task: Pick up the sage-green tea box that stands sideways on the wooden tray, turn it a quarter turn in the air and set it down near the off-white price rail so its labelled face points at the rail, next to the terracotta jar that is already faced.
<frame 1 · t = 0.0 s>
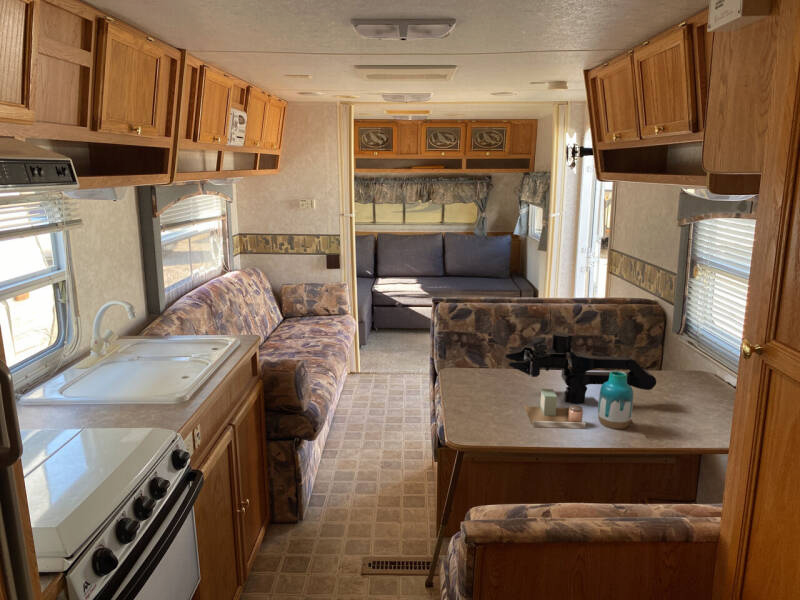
hand: (507, 359, 210), 17 cm above the table, tool horizontal, fingers open, 9 cm apart
vase: (613, 428, 193), on the table
spice jar: (574, 423, 192), point 1 cm above the table, touching wooden tray
tea box: (547, 411, 202), point 1 cm above the table, touching wooden tray
wooden tray: (553, 421, 198), on the table
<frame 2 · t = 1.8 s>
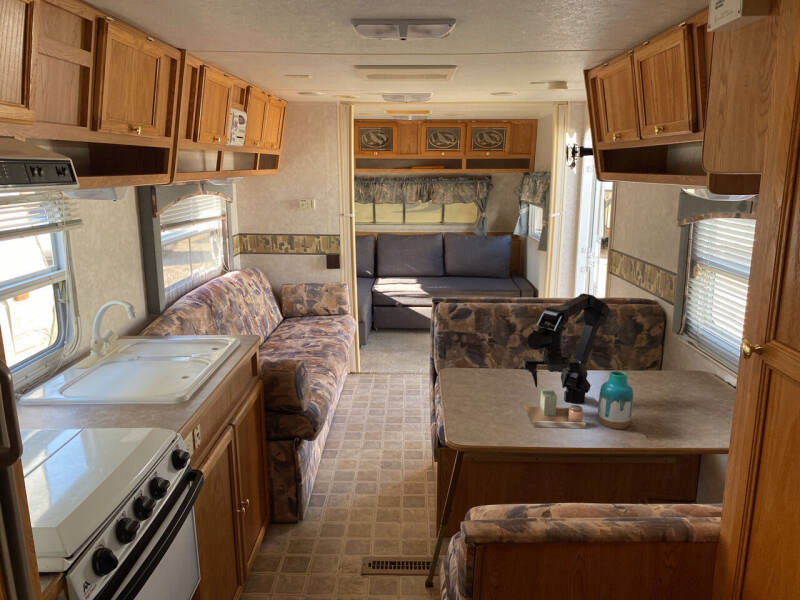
hand: (549, 387, 200), 10 cm above the table, tool pointing down, fingers open, 9 cm apart
nothing on the table moved.
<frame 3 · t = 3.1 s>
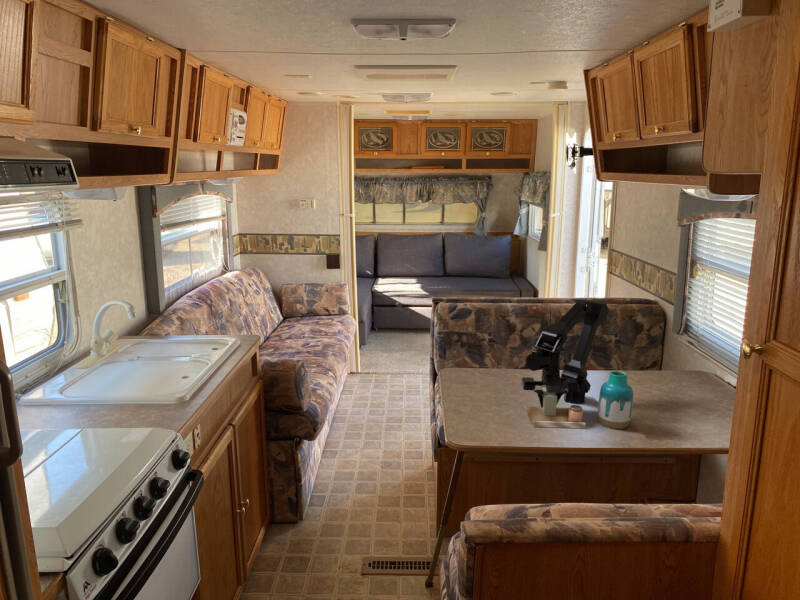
hand: (547, 407, 202), 3 cm above the table, tool pointing down, fingers closed on tea box, 4 cm apart
tea box: (547, 411, 202), point 1 cm above the table, touching gripper, wooden tray
everything else where it was.
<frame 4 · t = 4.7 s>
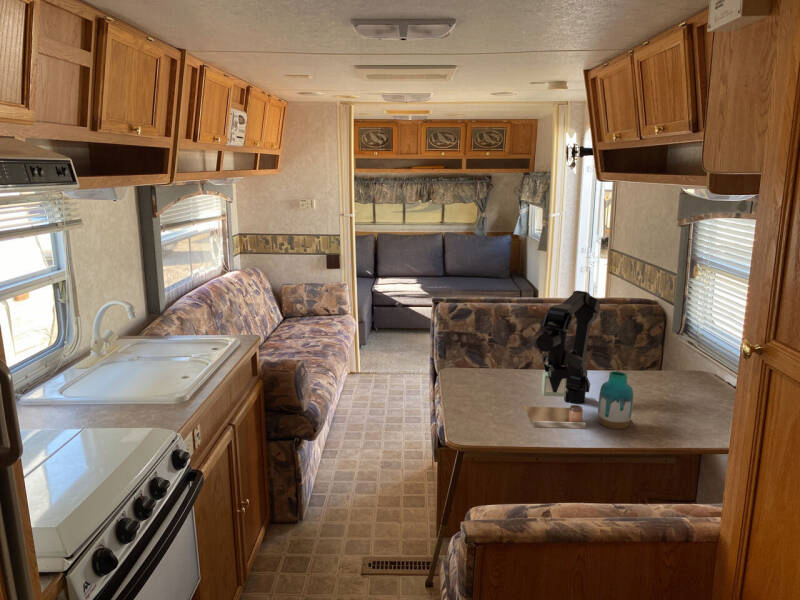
hand: (553, 389, 193), 12 cm above the table, tool pointing down, fingers closed on tea box, 4 cm apart
tea box: (553, 394, 194), point 11 cm above the table, touching gripper
everything else where it was.
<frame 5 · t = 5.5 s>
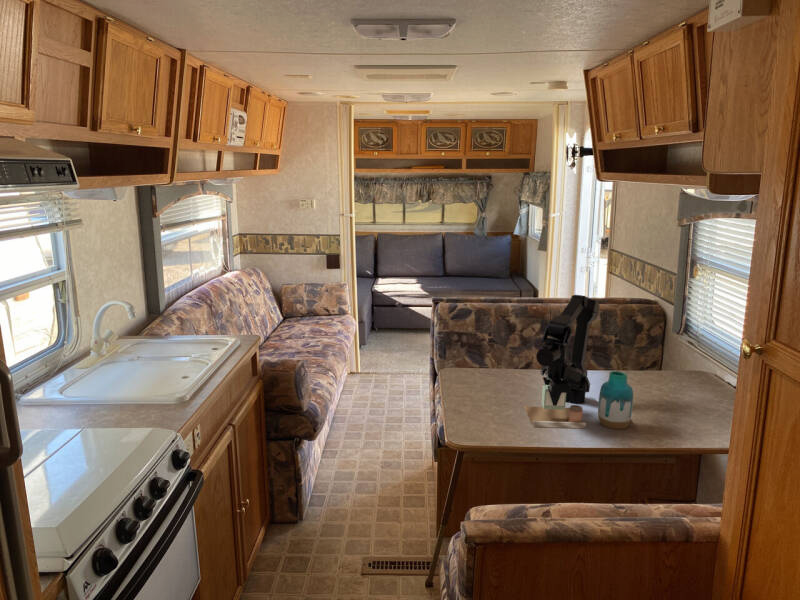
hand: (553, 402, 194), 8 cm above the table, tool pointing down, fingers closed on tea box, 4 cm apart
tea box: (553, 406, 194), point 6 cm above the table, touching gripper
everything else where it was.
when the fingers open (5 cm above the table, at t = 6.3 s): tea box drops 2 cm, resting on wooden tray.
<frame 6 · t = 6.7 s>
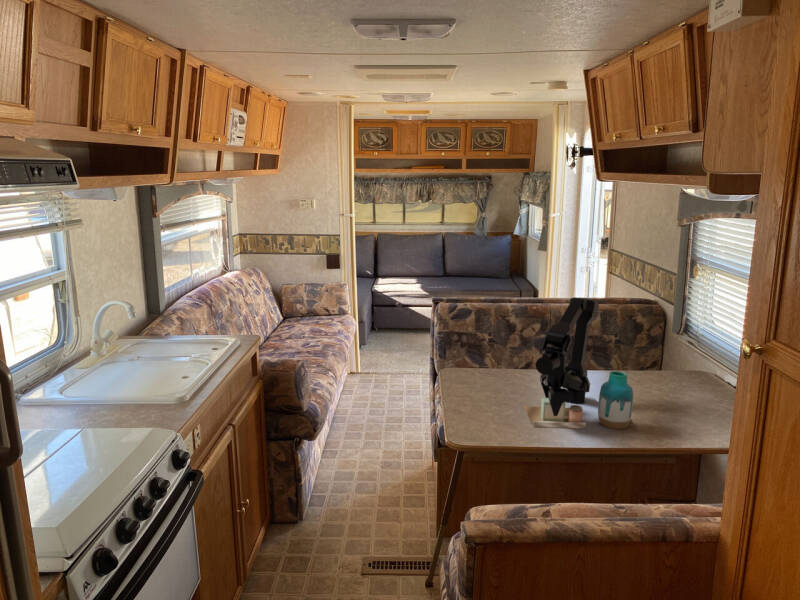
hand: (552, 410, 194), 5 cm above the table, tool pointing down, fingers open, 8 cm apart
tea box: (552, 419, 195), point 1 cm above the table, touching wooden tray
everything else where it was.
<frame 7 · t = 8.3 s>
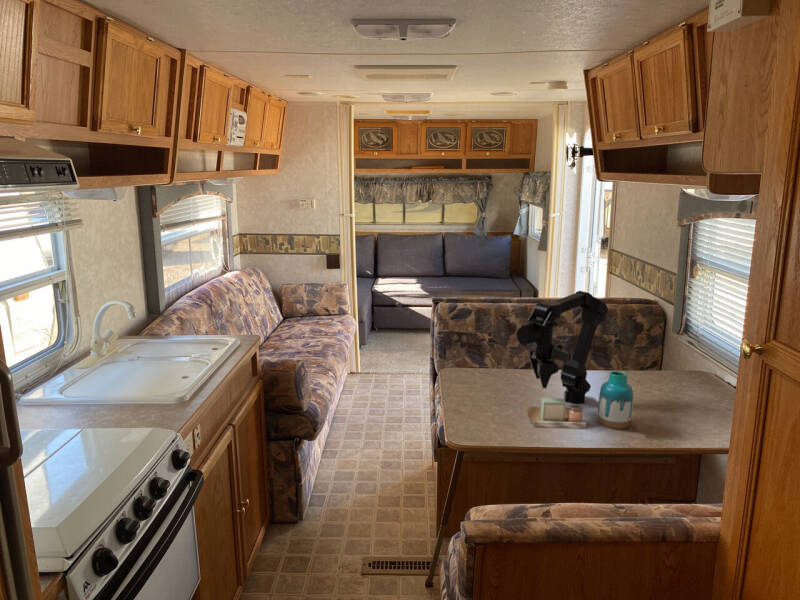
hand: (541, 383, 200), 12 cm above the table, tool pointing down, fingers open, 9 cm apart
nothing on the table moved.
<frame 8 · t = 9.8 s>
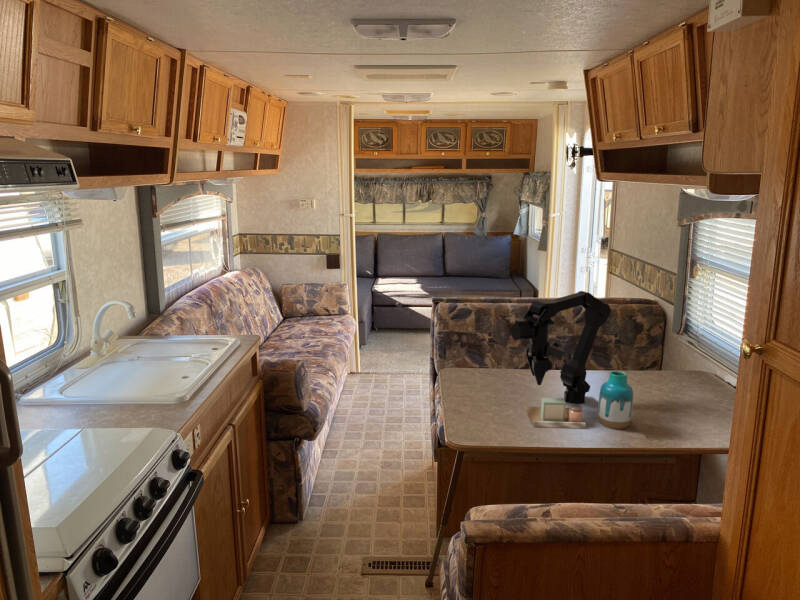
hand: (536, 380, 202), 12 cm above the table, tool pointing down, fingers open, 9 cm apart
nothing on the table moved.
at the end: tea box inside the target area (0.6 cm from its centre), point 1.5 cm above the table; tea box tilted 0°; the gripper is holding nothing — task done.
